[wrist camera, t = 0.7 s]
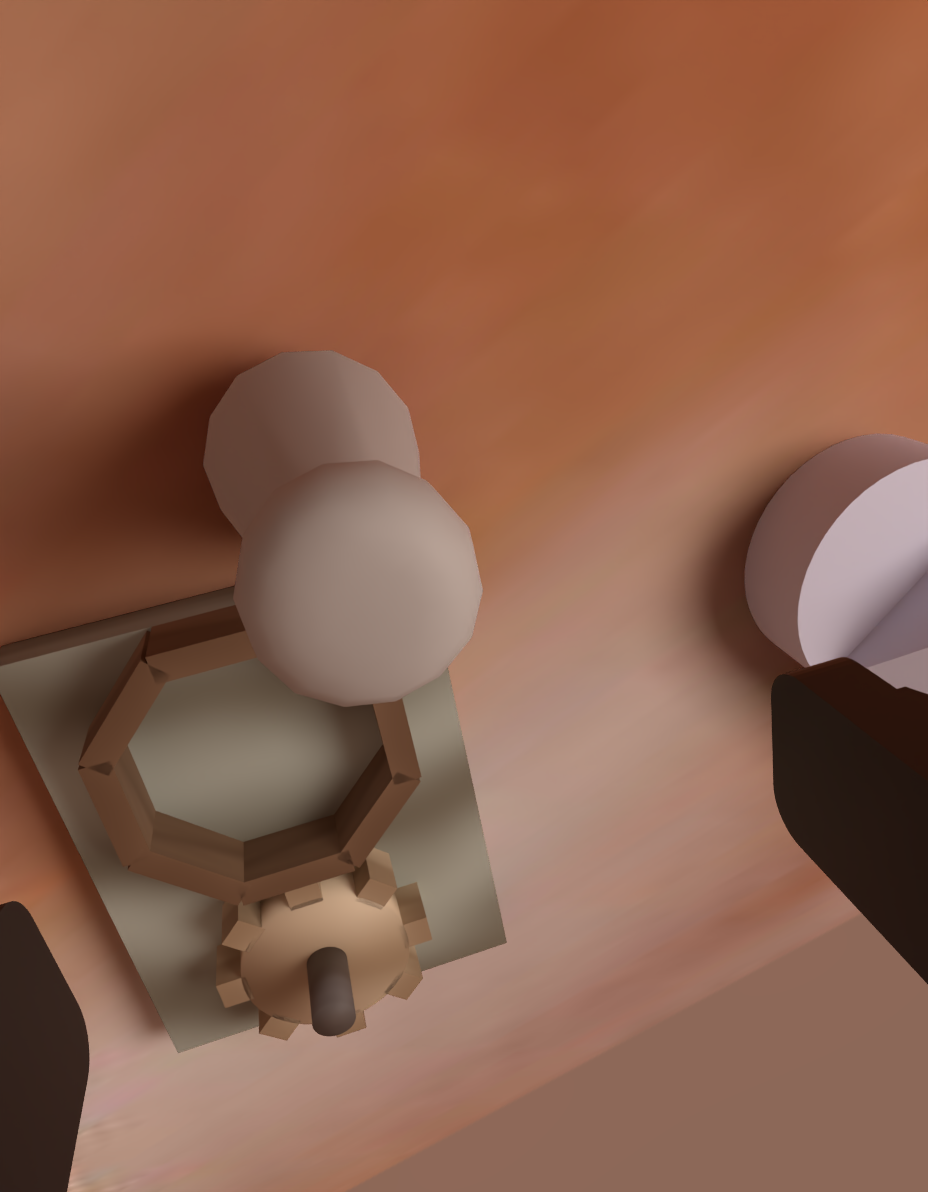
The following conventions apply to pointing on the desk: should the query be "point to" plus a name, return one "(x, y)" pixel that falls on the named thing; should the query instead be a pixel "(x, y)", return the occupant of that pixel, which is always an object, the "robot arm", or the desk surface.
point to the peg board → (254, 821)
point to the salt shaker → (338, 532)
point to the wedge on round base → (848, 560)
